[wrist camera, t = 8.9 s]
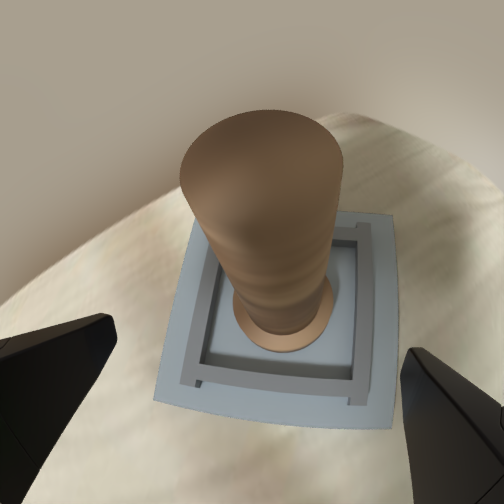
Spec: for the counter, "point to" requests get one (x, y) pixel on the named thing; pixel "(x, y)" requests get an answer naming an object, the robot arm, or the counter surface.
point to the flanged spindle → (269, 219)
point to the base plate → (294, 363)
